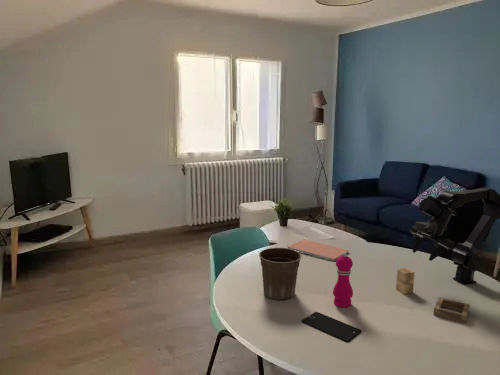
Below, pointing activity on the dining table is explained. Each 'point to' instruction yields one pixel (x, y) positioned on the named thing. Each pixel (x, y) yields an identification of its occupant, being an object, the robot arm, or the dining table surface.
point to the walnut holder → (451, 314)
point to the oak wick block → (405, 280)
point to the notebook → (318, 249)
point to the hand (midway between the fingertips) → (421, 256)
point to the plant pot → (279, 272)
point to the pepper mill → (343, 281)
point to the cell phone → (331, 326)
